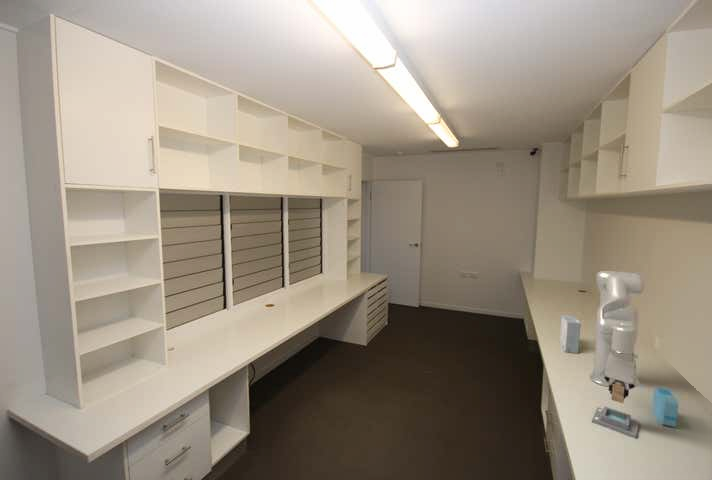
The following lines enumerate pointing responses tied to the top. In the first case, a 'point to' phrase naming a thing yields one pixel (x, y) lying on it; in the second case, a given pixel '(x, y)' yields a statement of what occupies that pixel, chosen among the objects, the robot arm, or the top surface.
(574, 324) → the hard drive box
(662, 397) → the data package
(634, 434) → the frame
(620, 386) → the wooden block with knob
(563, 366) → the top surface
